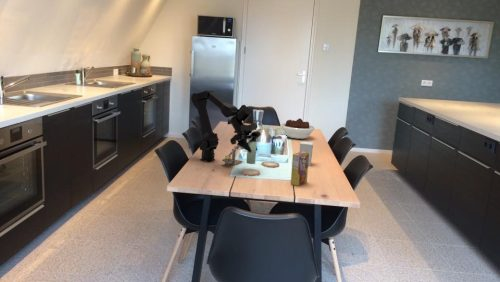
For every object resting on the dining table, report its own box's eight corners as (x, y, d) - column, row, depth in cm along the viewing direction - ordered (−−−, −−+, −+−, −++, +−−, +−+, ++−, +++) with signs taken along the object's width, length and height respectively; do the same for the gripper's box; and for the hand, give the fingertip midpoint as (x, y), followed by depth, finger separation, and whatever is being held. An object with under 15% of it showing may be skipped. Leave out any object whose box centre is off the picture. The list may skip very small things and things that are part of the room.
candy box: (299, 180, 209) (302, 151, 206) (307, 182, 206) (310, 152, 203) (289, 184, 202) (292, 153, 199) (297, 186, 199) (300, 155, 196)
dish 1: (237, 173, 214) (237, 171, 214) (245, 169, 223) (246, 167, 223) (254, 177, 210) (254, 175, 210) (262, 172, 219) (263, 171, 218)
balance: (219, 166, 225) (220, 147, 223) (236, 159, 242) (237, 141, 240) (229, 168, 223) (230, 149, 221) (245, 161, 240) (246, 143, 238)
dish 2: (258, 165, 233) (258, 163, 232) (265, 161, 241) (266, 160, 241) (275, 168, 228) (275, 167, 228) (281, 164, 237) (282, 163, 237)
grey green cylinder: (244, 162, 215) (246, 141, 213) (250, 161, 218) (252, 140, 216) (250, 164, 212) (252, 143, 210) (256, 163, 215) (258, 142, 213)
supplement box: (310, 166, 239) (312, 144, 236) (297, 164, 240) (299, 143, 237) (311, 163, 246) (313, 142, 243) (298, 161, 247) (300, 141, 245)
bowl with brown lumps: (315, 142, 308) (317, 122, 305) (281, 140, 308) (283, 120, 305) (310, 136, 333) (312, 117, 330) (279, 133, 333) (281, 115, 330)
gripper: (235, 118, 206) (251, 144, 201) (259, 116, 220) (274, 140, 215) (223, 131, 212) (238, 156, 208) (247, 128, 226) (261, 152, 222)
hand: (253, 151), depth 213 cm, fingers closed on grey green cylinder, 4 cm apart
